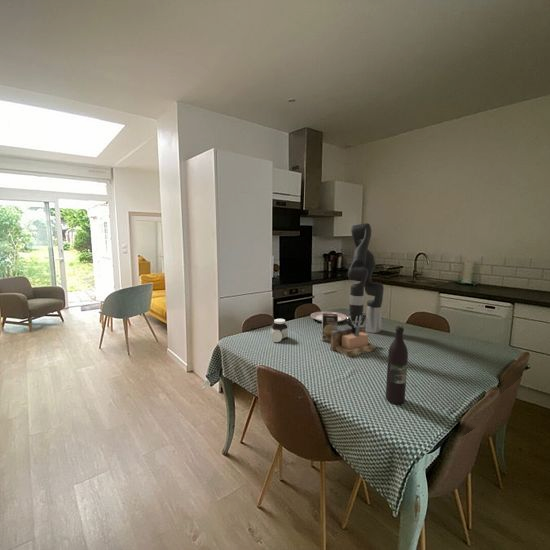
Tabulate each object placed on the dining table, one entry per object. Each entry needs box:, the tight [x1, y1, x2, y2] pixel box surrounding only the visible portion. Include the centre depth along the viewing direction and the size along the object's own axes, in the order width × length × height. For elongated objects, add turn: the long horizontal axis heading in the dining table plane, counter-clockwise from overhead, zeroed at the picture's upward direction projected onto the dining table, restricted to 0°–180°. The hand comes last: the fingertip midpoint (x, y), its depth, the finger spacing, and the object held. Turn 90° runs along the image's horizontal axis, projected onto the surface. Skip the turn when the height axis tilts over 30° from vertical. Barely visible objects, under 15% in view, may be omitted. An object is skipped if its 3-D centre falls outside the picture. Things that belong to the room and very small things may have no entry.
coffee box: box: [320, 313, 339, 343], centre depth 181 cm, size 9×6×16 cm
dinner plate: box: [310, 311, 348, 323], centre depth 226 cm, size 28×27×3 cm
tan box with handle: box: [342, 326, 369, 350], centre depth 166 cm, size 14×6×13 cm, turn 118°
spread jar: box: [270, 318, 289, 343], centre depth 182 cm, size 12×11×12 cm
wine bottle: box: [385, 325, 409, 405], centre depth 115 cm, size 7×7×30 cm
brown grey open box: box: [330, 324, 376, 358], centre depth 167 cm, size 24×12×11 cm, turn 118°
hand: (355, 332), depth 166 cm, fingers closed on tan box with handle
